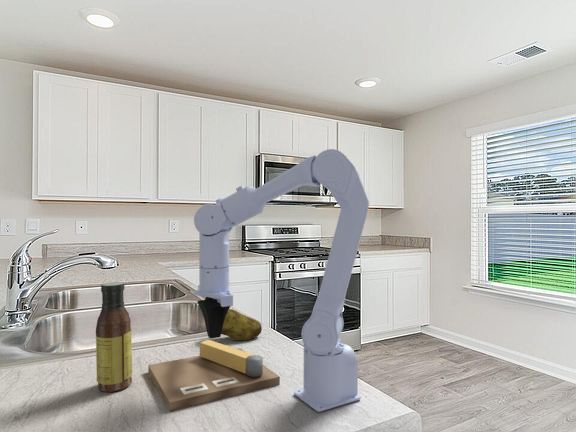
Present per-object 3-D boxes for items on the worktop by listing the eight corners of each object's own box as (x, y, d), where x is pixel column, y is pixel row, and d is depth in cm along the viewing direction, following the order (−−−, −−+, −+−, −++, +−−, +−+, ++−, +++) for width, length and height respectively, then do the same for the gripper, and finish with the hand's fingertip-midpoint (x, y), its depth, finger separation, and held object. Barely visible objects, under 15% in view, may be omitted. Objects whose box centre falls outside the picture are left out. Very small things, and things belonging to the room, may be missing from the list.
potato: (256, 344, 97) (256, 313, 98) (208, 342, 99) (209, 311, 99) (263, 335, 106) (263, 306, 106) (219, 333, 107) (219, 304, 108)
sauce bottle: (122, 377, 77) (123, 279, 77) (138, 385, 73) (139, 282, 73) (89, 387, 72) (90, 283, 72) (104, 397, 68) (105, 286, 68)
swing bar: (266, 373, 74) (266, 357, 74) (254, 378, 72) (254, 362, 72) (209, 352, 86) (210, 339, 86) (198, 356, 83) (198, 342, 83)
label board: (240, 354, 90) (240, 347, 90) (279, 384, 74) (279, 376, 74) (148, 372, 79) (148, 364, 79) (169, 411, 63) (169, 401, 63)
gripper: (183, 264, 78) (183, 330, 78) (206, 272, 65) (206, 351, 65) (216, 262, 82) (216, 325, 81) (243, 269, 69) (243, 344, 69)
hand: (214, 336), depth 73 cm, fingers closed
